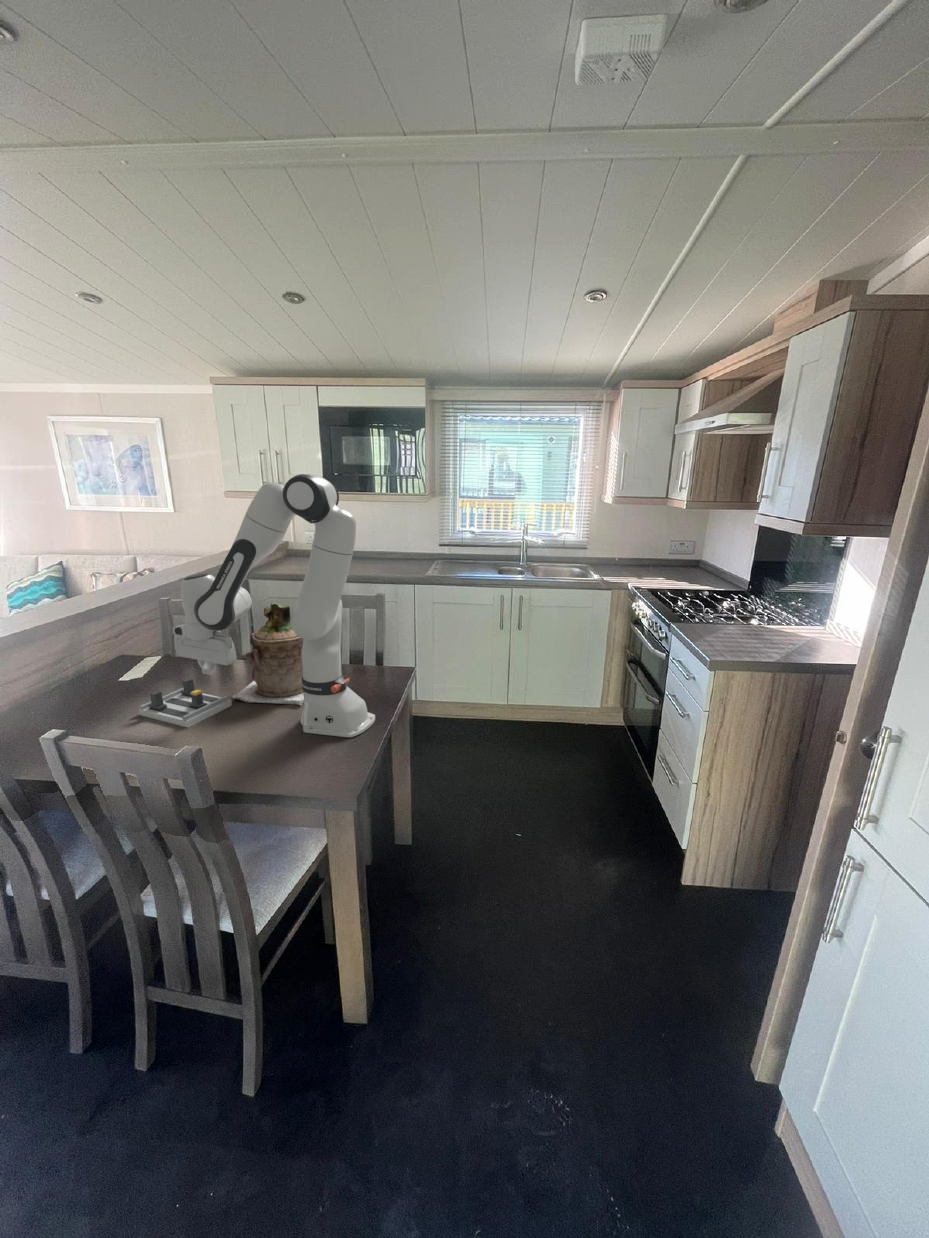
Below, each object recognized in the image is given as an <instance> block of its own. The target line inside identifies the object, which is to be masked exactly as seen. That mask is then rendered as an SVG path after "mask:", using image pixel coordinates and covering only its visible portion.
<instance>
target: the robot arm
mask: <svg viewBox="0 0 929 1238" xmlns="http://www.w3.org/2000/svg"><path fill="white" fill-rule="evenodd" d="M339 502H340V494H339V490H338V488H337V487H336V485H335V483H333V482H332V481H331V480H330V479H328V478H326V477H323V476H320V475H316V474H312V473H310V474H307V473H306V474H305V473H303V474H302V473H301V474H296V475H294V476H292V477H290V478H289V479H288V480H287V482H286V483H285V484H281V483H278V482H265V483H264V484H263V485H261V486H260V488H259V489H258V491H257V492H256V494H255V495H254V497H253V498H252V500H251V502H250V504H249V506H248V508H247V509H246V512H245V514H244V517H243V520H242V521H241V523H240V526H239V530H238V531H237V534H236V536H235V539H234V541H233V543H232V545H231V547H230V549H229V552H228V553H227V555H226V556H225V558H224V560H223V562H222V563H221V566H220V569H219V570H218V572H217V573H216V576H213V574H210V573H198V574H194V575H190V576H187V577H185V578H184V579H183V580H182V581H181V584H180V585H181V587H180V597H181V606H182V609H183V611H184V623H182V624H178V625H177V626H174V627H172V634H173V635H174V637H173V641H174V642H173V643H174V647H175V648H174V649H175V653H176V654H177V656H178V657H182V658H187V659H192V660H197V663H198V665H199V667H200V668H201V673H202V674H204V675H207V676H212V675H214V674H215V668H216V665H217V664H218V665H221V666H230V665H231V664H234V663H235V662H236V661H237V659H238V657H237V653H236V648H235V644H234V642H233V641H234V640H233V638H232V637H230V635H229V634H228V633H226V632H221V631H223V630H225V629H227V628H228V627H229V626H230V625H232V624H233V623H234V622H236V621H238V620H239V619H240V618H242V617H243V616H246V615H247V614H248V613H249V612H250V611H251V609H252V607H253V598H252V596H251V593H250V592H249V591H248V590H247V589H246V588H244V587H243V586H242V585H243V583H244V581H245V580H246V577H247V576H248V574H249V573H250V571H251V570H252V569H253V568H254V567H255V566H256V565H257V564H258V563H260V562H261V561H262V560H264V559H265V558H267V557H268V556H270V555H271V554H273V553H274V552H275V551H276V550H277V548H278V547H279V545H280V544H281V543H282V541H283V539H284V538H285V535H286V533H287V531H288V528H289V527H290V525H291V522H292V521H293V518H294V517H296V516H298V517H299V518H302V519H303V520H304V521H306V522H307V523H309V524H314V536H313V540H312V543H311V544H312V545H311V550H310V554H309V559H308V564H307V568H306V572H305V575H304V578H303V581H302V584H301V586H300V590H299V592H298V596H297V598H296V599H297V600H296V602H295V606H294V609H293V613H292V615H291V617H290V623H291V626H292V629H293V631H294V632H295V634H296V635H297V636H299V637H300V638H302V639H303V646H302V651H301V656H302V670H303V676H302V690H303V691H304V702H303V703H302V713H301V716H300V720H299V721H300V724H301V726H302V732H303V733H306V734H316V735H323V736H324V735H325V736H332V737H333V736H334V737H341V738H353V737H356V736H358V735H361V734H362V733H364V732H365V731H366V730H368V729H369V728H370V727H372V725H374V723H375V721H376V714H373V713H371V712H368V707H367V704H366V701H365V700H364V699H363V698H362V697H361V696H359V695H358V694H357V693H356V692H354V691H353V690H352V689H351V688H350V687H349V686H348V683H350V679H351V678H350V677H348V678H346V679H345V676H344V673H343V672H342V659H341V658H342V655H341V645H342V628H343V601H342V594H343V591H344V589H345V586H346V585H345V584H347V579H348V575H349V571H350V568H351V562H352V558H353V554H354V550H355V543H356V536H357V534H356V533H357V520H356V518H355V517H354V516H353V514H352V513H350V512H349V511H347V510H345V509H342V508H340V507H339V506H338V504H339Z"/></svg>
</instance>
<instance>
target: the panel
mask: <svg viewBox="0 0 929 1238" xmlns="http://www.w3.org/2000/svg"><path fill="white" fill-rule="evenodd" d="M182 690H184V688H183V687H182V688H179V689H177V690H174V691H172V692H170V693H167V694H165V695H162V699H163V704H166V705H167V708H164V709H162V710H158V709H154V708H150V707H149V704H152V703H151V701H149V702H145V703H144V704H141V705H139V709H138V712H139V715H140V716H142V717H146V718H150V719H153V720H157V721H161V722H164V723H169V724H172V725H176V726H181V727H185V728H190V727H192V726H194V725H196V724H198V723H200V722H202V721H204V720H206V719H209V718H210V717H212V716H214V715H216V714H218V713H220V712H222V711H224V710H225V709H228V708H231V707H232V706H233V701H232V699H231V698H230V695H224V696H223V697H221V696H217V695H213V694H207V693H203V692H202V697H203V702H204V703H207V705H206V706H204V707H201V708H197V707H192V706H189V703H190V702H192V699H191V696H190V695H186V694H182V693H181V691H182Z"/></svg>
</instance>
